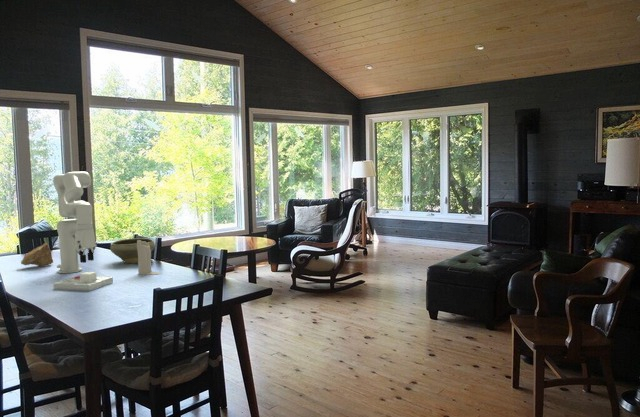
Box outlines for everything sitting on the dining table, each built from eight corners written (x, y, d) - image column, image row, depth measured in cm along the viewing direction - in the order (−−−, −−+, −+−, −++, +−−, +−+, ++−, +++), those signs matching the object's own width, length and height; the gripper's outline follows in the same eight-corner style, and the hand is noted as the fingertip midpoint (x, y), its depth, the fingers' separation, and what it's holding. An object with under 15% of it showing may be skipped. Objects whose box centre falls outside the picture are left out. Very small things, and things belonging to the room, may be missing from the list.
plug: (80, 287, 263) (79, 273, 262) (87, 284, 267) (86, 271, 267) (90, 287, 261) (89, 274, 260) (96, 285, 266) (96, 272, 265)
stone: (53, 263, 329) (51, 241, 328) (54, 266, 321) (52, 243, 319) (21, 267, 320) (19, 243, 318) (21, 269, 311) (19, 246, 310)
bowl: (141, 256, 350) (140, 236, 349) (164, 261, 332) (163, 239, 331) (102, 262, 328) (101, 241, 327) (124, 267, 311) (123, 244, 310)
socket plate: (53, 289, 259) (53, 281, 259) (78, 281, 277) (78, 274, 276) (89, 291, 254) (89, 283, 253) (112, 282, 271) (112, 275, 270)
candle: (158, 275, 287) (156, 240, 285) (136, 274, 290) (134, 240, 288) (164, 272, 294) (162, 238, 292) (142, 271, 297) (141, 238, 295)
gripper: (90, 224, 271) (92, 258, 272) (66, 229, 254) (69, 264, 256) (102, 225, 269) (104, 258, 270) (79, 229, 252) (81, 264, 254)
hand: (87, 261), depth 263 cm, fingers open, 4 cm apart
